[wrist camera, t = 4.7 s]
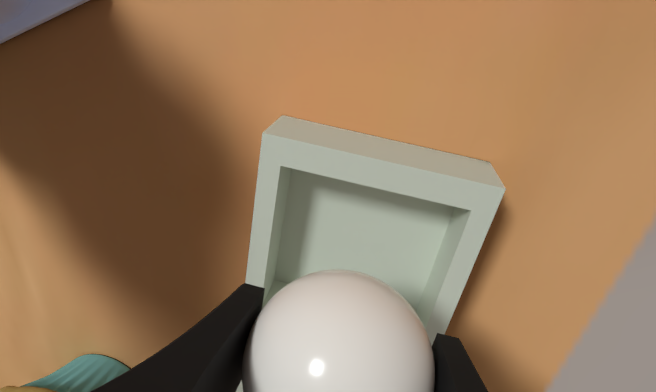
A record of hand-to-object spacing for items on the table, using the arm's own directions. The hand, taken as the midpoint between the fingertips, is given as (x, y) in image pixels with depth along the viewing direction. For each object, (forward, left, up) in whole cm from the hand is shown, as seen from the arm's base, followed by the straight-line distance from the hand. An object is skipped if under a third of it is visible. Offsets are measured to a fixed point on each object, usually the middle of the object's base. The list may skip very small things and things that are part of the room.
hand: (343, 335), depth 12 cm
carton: (-2, -3, -6) cm, 7 cm away
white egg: (0, 0, -1) cm, 1 cm away
